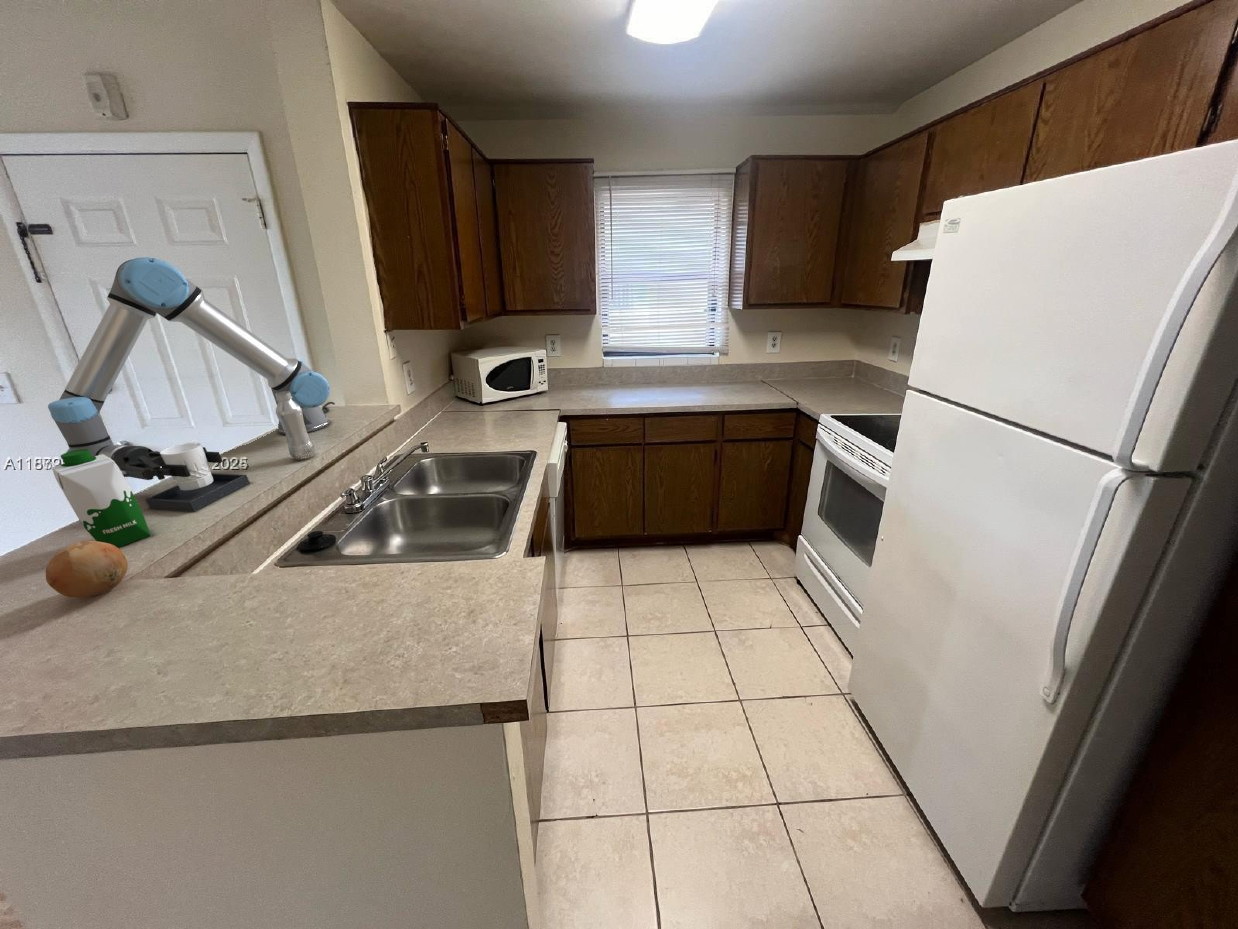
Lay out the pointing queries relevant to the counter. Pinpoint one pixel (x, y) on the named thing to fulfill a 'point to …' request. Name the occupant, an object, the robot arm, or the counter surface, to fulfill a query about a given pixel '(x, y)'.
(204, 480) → the white cup
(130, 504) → the milk carton
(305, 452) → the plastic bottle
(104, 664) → the counter surface
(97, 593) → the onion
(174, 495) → the baking tray
